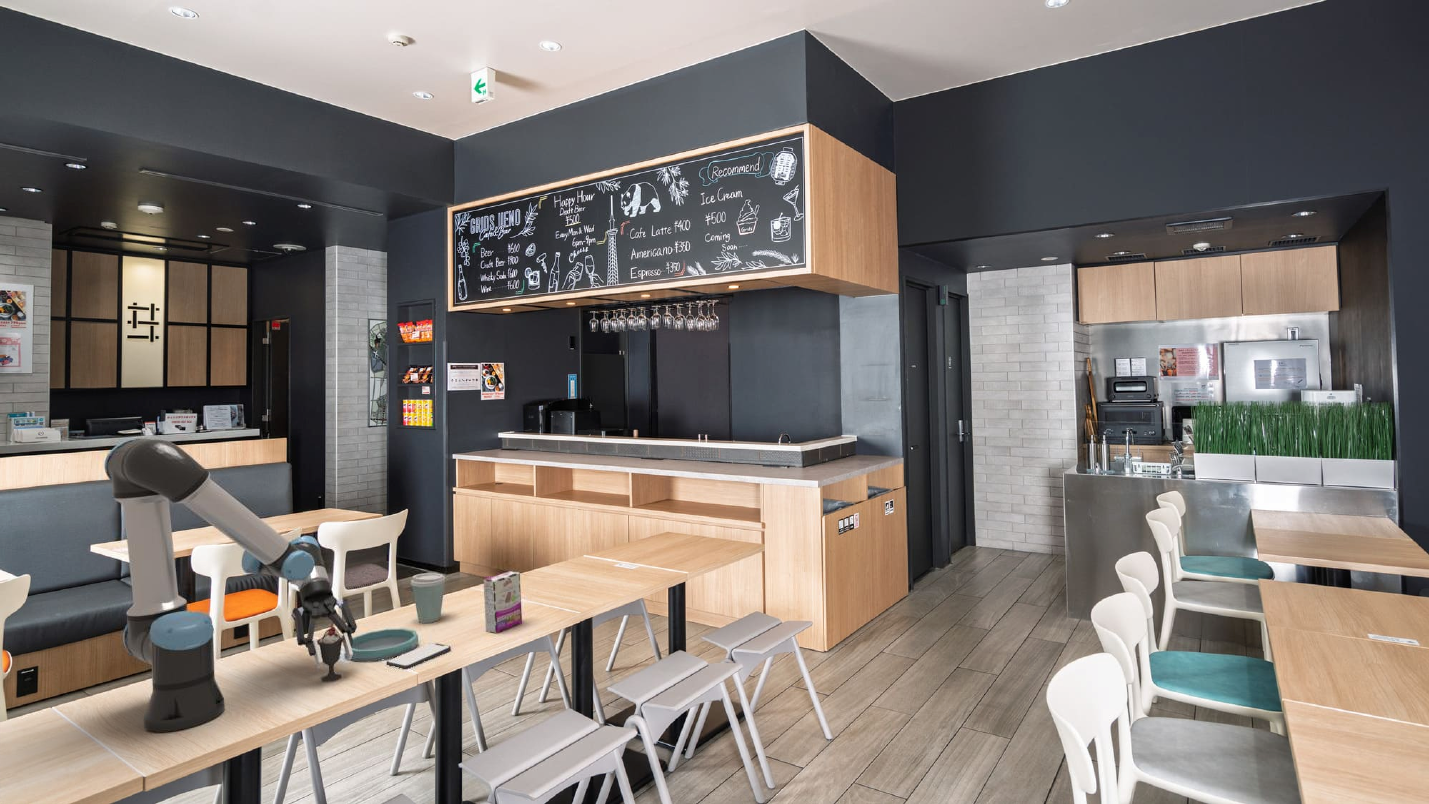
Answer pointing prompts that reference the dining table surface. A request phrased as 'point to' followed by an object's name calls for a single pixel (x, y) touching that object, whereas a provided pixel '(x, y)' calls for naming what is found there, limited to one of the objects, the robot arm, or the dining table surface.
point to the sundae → (331, 652)
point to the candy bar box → (502, 601)
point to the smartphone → (419, 655)
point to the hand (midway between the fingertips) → (335, 660)
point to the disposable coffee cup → (428, 596)
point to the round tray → (383, 644)
